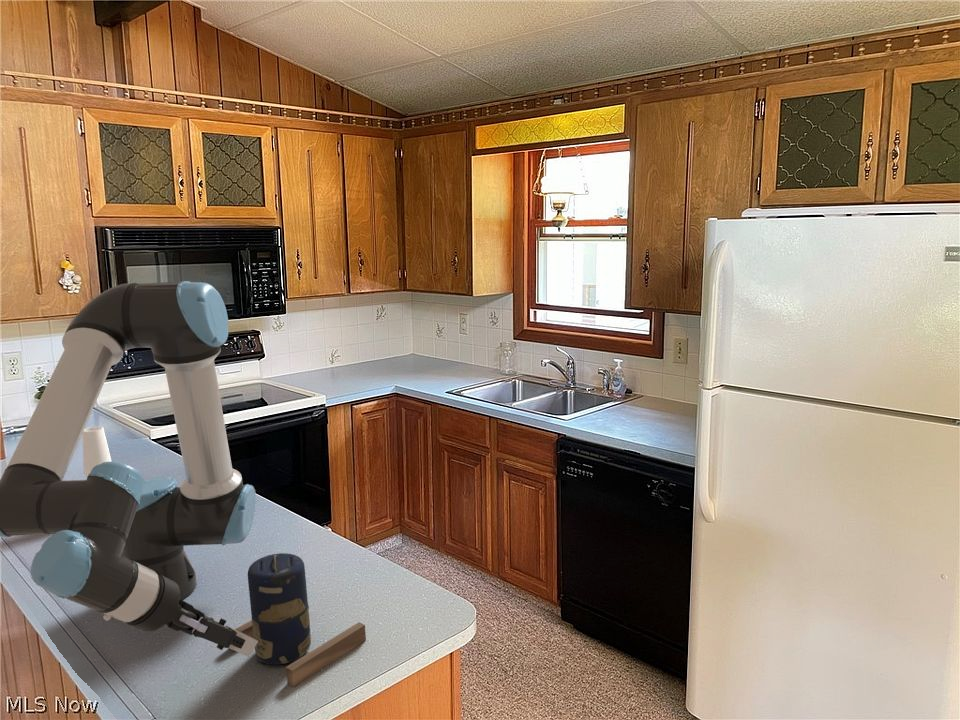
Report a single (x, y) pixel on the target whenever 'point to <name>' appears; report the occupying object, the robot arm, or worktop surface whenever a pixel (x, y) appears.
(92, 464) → the champagne flute
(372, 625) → the worktop surface
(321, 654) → the walnut chute
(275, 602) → the canister
